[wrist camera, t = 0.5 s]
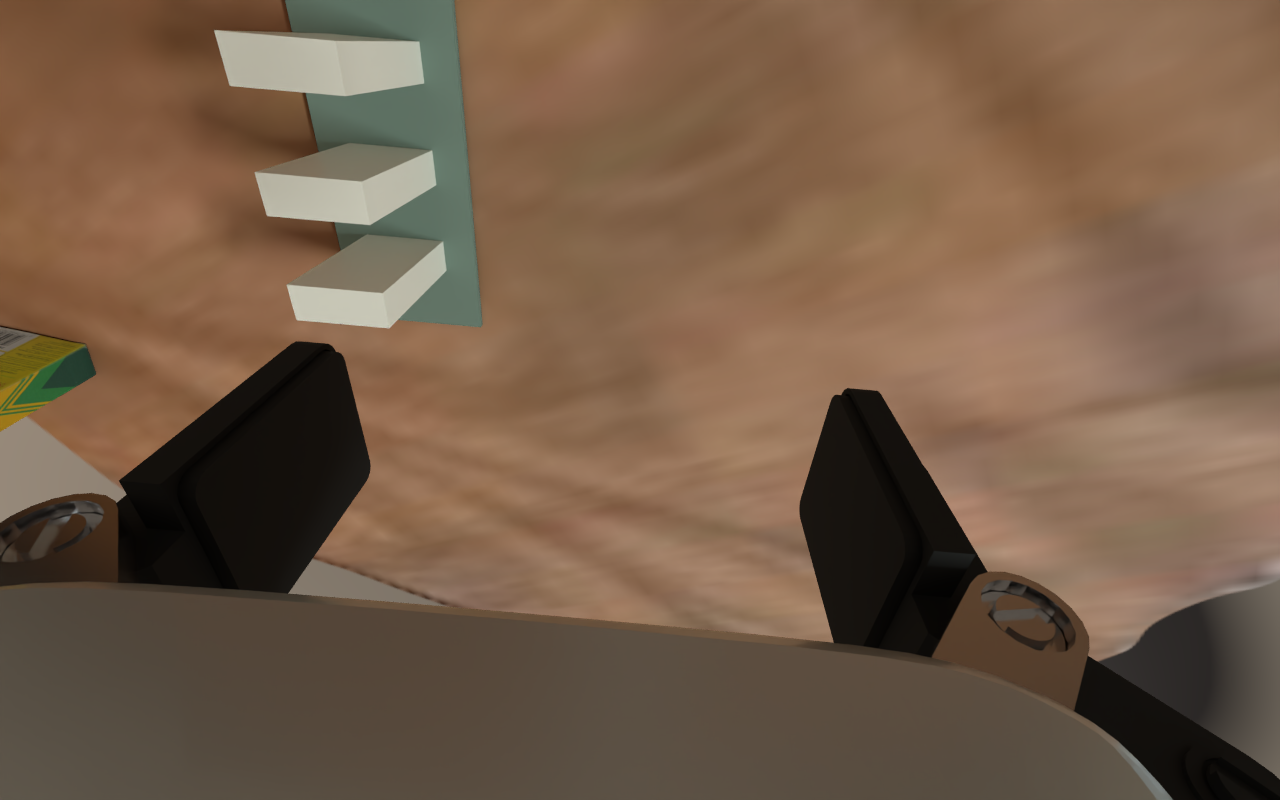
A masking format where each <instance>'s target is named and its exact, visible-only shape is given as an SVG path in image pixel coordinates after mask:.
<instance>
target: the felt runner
mask: <svg viewBox="0 0 1280 800" xmlns="http://www.w3.org/2000/svg"><path fill="white" fill-rule="evenodd" d="M285 2H286V7H287V11H288V16H289V20H290V25H291V29H292V32H296V33H329V34H340V35H351V36H363V37H374V38H385V39H396V40H407V41H419V44H420V52H421V61H422V69H423V77H424V84H418V85H412V86H406V87H399V88H393V89H387V90H381V91H375V92H369V93H362V94H356V95H350V96H338V95H326V94H315V93H306V97H307V101H308V106H309V110H310V115H311V119H312V124H313V128H314V133H315V137H316V142H317V146H318V151H319V152H321V151H325V150H328V149H331V148H334V147H338V146H341V145H344V144H347V143H356V144H367V145H378V146H389V147H401V148H412V149H423V150H432V153H433V161H434V170H435V178H436V186H434V187H432V188H431V189H429V190H427V191H426V192H424V193H422V194H421V195H419V196H418V197H416V198H414V199H413V200H411V201H409V202H408V203H406V204H404V205H403V206H401V207H399V208H398V209H396V210H394V211H393V212H391V213H389V214H388V215H386V216H384V217H383V218H381V219H379V220H378V221H376V222H374V223H373V224H371V225H363V224H351V223H340V222H334V223H335V228H336V232H337V237H338V241H339V246H340V250H343V249H344V248H346V247H348V246H349V245H351V244H352V243H354V242H356V241H357V240H359V239H360V238H362V237H363V236H365V235H367V234H368V235H379V236H391V237H402V238H413V239H424V240H435V241H443V246H444V254H445V262H446V272H445V273H444V274H443V275H442V276H441V277H440V278H439V279H438V280H437V281H436V282H435V283H434V284H433V285H432V286H431V287H430V288H429V289H428V290H427V291H426V292H425V293H424V294H423V295H422V296H421V297H420V298H419V299H418V300H417V301H416V302H415V303H414V304H413V305H412V306H411V307H410V308H409V309H408V310H407V311H406V312H405V313H404V314H403V315H402V316H401V317H400V318H399V319H398V320H406V321H417V322H429V323H440V324H451V325H462V326H473V327H481V326H482V314H481V302H480V291H479V279H478V268H477V256H476V245H475V233H474V222H473V211H472V199H471V188H470V176H469V165H468V153H467V142H466V130H465V119H464V107H463V96H462V84H461V73H460V62H459V50H458V39H457V27H456V16H455V4H454V0H285Z"/></svg>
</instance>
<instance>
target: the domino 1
mask: <svg viewBox="0 0 1280 800" xmlns="http://www.w3.org/2000/svg"><path fill="white" fill-rule="evenodd" d="M214 32H215V36H216V39H217V43H218V46H219V50H220V53H221V57H222V60H223V64H224V67H225V71H226V74H227V78H228V81H229V85H230V86H237V87H248V88H259V89H270V90H282V91H293V92H304V93H315V94H326V95H338V96H350V95H356V94H362V93H369V92H375V91H381V90H387V89H393V88H399V87H406V86H412V85H418V84H424V77H423V69H422V61H421V52H420V44H419V41H407V40H396V39H385V38H374V37H363V36H351V35H340V34H329V33H296V32H261V31H226V30H214Z"/></svg>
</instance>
